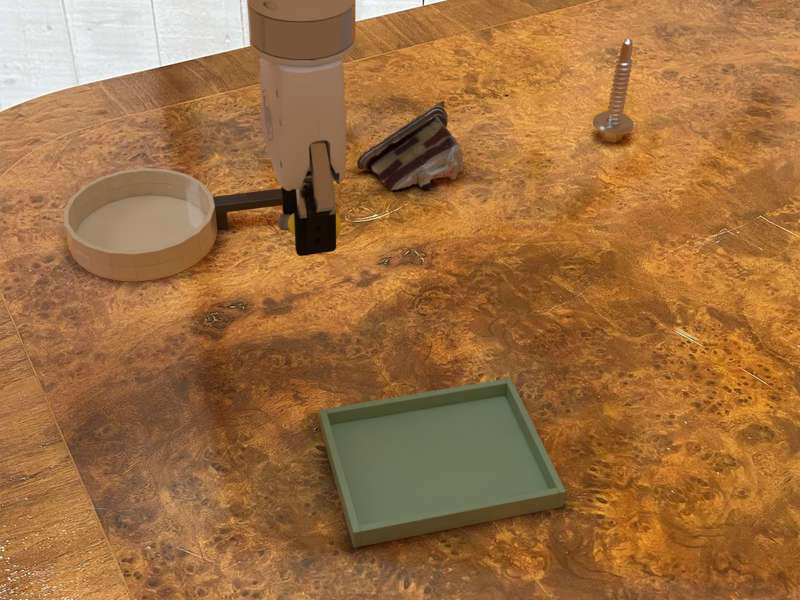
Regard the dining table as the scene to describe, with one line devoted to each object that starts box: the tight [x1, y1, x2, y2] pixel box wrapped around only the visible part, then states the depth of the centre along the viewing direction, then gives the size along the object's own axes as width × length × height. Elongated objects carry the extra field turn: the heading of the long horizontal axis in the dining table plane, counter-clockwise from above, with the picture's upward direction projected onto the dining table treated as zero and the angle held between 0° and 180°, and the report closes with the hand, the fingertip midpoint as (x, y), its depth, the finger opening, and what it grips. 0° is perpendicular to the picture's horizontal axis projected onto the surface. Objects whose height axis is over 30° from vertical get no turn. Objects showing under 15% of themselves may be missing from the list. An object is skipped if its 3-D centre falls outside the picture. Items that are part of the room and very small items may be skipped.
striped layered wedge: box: [356, 100, 464, 191], centre depth 121 cm, size 10×7×12 cm
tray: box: [318, 377, 567, 549], centre depth 88 cm, size 17×13×2 cm
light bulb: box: [276, 212, 342, 240], centre depth 87 cm, size 3×6×4 cm, turn 59°
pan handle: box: [213, 188, 282, 231], centre depth 113 cm, size 10×2×3 cm, turn 105°
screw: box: [592, 37, 635, 144], centre depth 125 cm, size 13×5×5 cm
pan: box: [63, 167, 218, 282], centre depth 110 cm, size 15×15×4 cm
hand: (308, 230), depth 87 cm, fingers closed on light bulb, 4 cm apart
